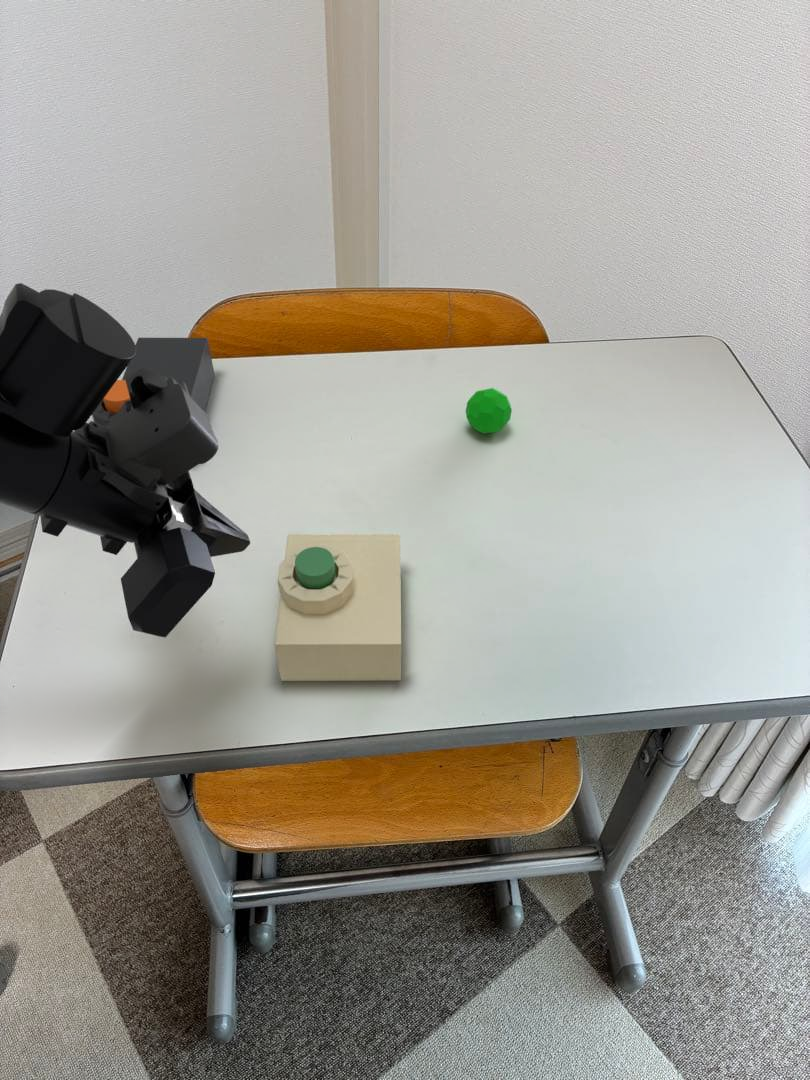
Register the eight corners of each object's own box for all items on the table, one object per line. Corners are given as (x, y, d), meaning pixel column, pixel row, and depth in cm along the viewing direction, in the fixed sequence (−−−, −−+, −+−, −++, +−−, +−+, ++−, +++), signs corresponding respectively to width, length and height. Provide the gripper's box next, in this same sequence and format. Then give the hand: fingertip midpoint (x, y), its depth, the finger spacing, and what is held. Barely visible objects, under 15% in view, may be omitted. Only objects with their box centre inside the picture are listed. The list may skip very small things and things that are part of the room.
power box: (280, 681, 66) (271, 630, 61) (292, 572, 75) (285, 519, 70) (400, 680, 67) (401, 630, 61) (399, 572, 75) (400, 519, 70)
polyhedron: (475, 446, 87) (478, 411, 84) (457, 419, 91) (460, 385, 87) (516, 436, 89) (521, 401, 85) (497, 410, 92) (501, 376, 88)
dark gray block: (101, 473, 84) (82, 420, 79) (137, 374, 96) (123, 323, 91) (189, 473, 84) (176, 421, 79) (214, 375, 96) (205, 323, 91)
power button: (295, 590, 65) (293, 576, 63) (298, 560, 67) (296, 546, 66) (334, 589, 65) (333, 576, 63) (336, 560, 67) (335, 546, 66)
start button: (101, 415, 80) (97, 401, 79) (110, 393, 82) (106, 379, 81) (137, 415, 80) (133, 401, 79) (145, 393, 82) (141, 379, 81)
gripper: (141, 473, 41) (354, 559, 52) (97, 296, 53) (278, 396, 63) (32, 612, 45) (252, 665, 55) (14, 418, 56) (198, 492, 67)
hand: (246, 543), depth 60 cm, fingers closed
